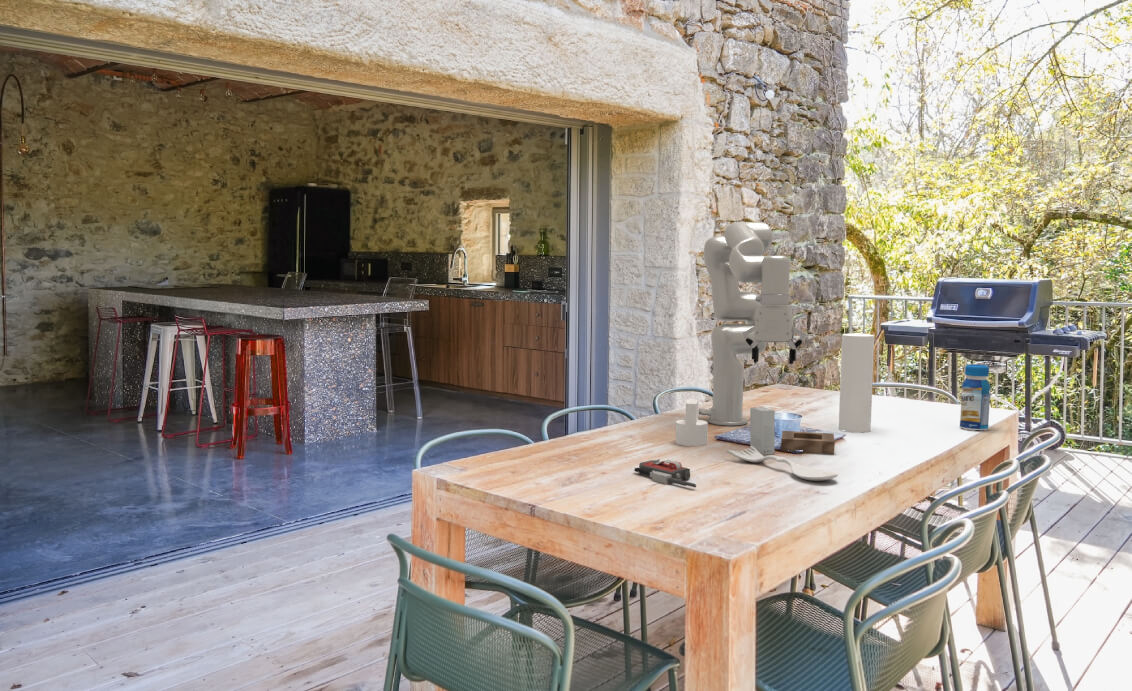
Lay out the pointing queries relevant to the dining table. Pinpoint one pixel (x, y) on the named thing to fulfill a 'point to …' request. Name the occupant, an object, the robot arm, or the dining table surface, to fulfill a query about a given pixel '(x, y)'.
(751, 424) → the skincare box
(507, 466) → the dining table surface
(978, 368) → the beverage bottle
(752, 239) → the robot arm
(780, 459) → the beige plastic utensil
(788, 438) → the socket block
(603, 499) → the dining table surface
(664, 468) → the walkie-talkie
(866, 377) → the tall grey rectangular pillar
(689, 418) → the cylinder with rectangular tab
